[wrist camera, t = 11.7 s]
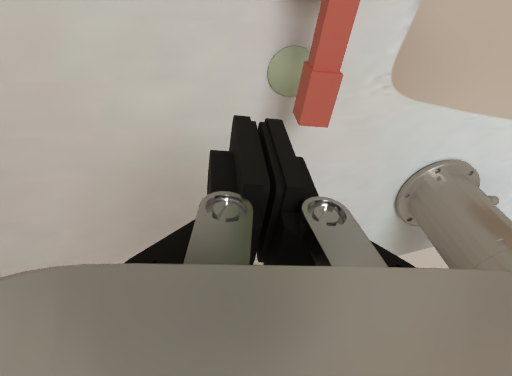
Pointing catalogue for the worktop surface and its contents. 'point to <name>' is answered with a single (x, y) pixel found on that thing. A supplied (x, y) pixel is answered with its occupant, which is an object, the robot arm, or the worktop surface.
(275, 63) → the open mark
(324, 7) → the lever
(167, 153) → the worktop surface
